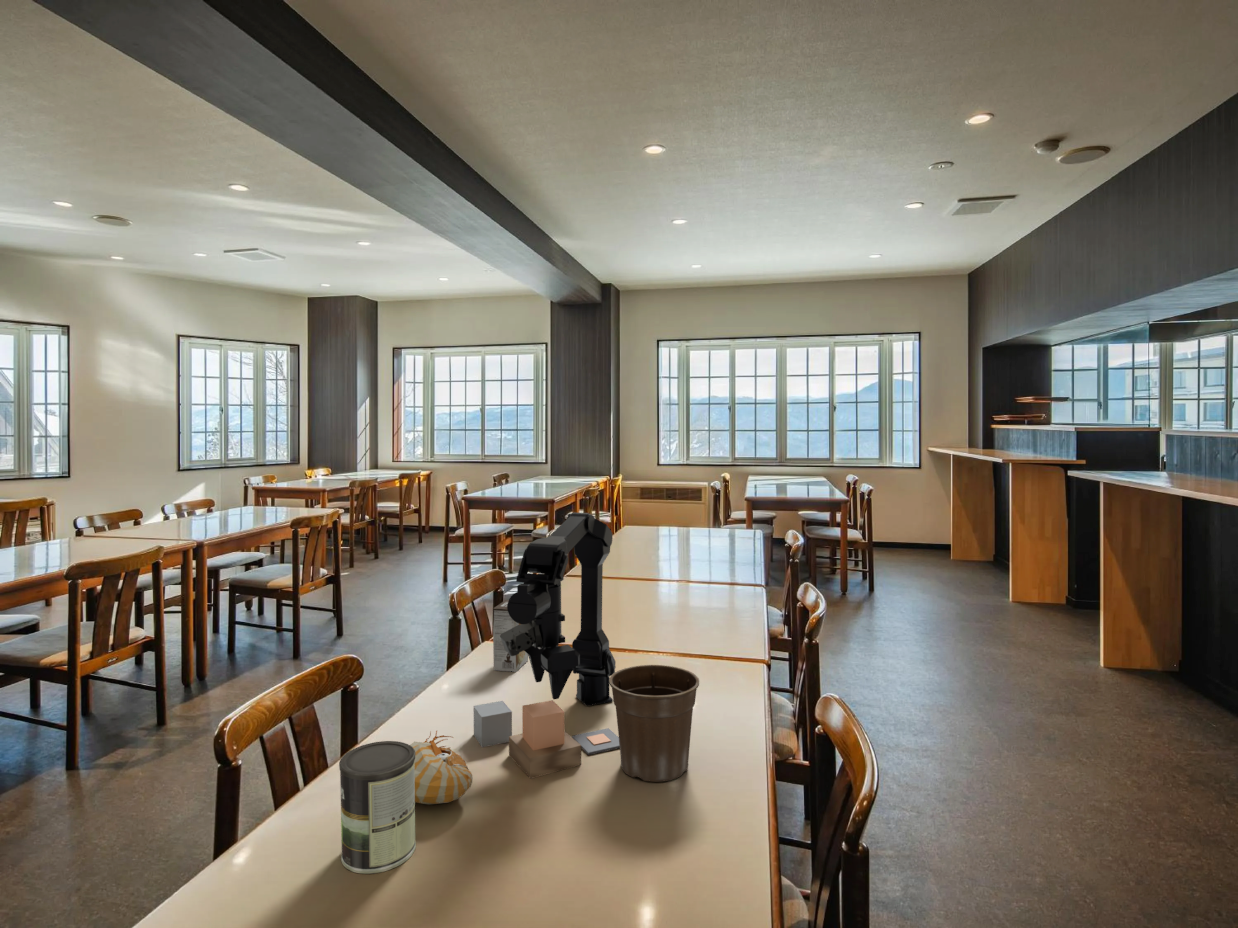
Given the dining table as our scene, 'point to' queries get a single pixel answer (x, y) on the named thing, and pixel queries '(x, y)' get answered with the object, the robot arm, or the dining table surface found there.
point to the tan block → (544, 756)
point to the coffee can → (377, 806)
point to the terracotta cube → (543, 725)
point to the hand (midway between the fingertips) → (546, 689)
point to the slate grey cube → (492, 723)
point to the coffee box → (501, 657)
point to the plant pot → (654, 719)
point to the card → (597, 741)
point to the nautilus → (439, 773)
